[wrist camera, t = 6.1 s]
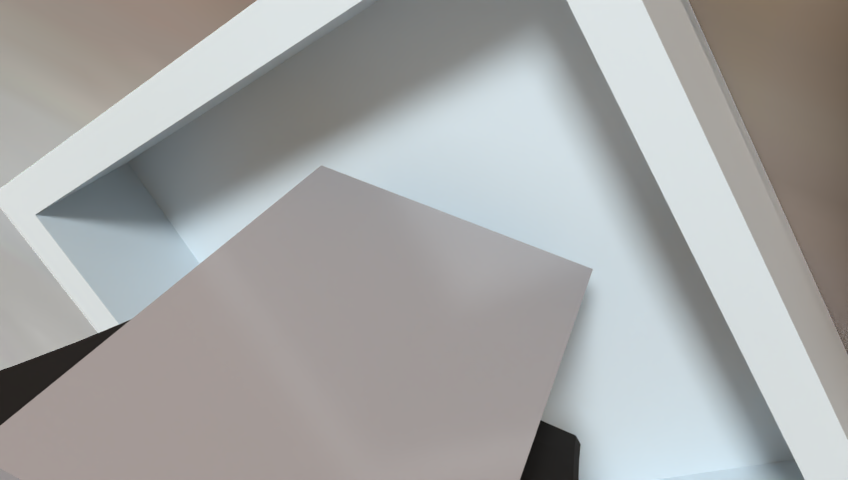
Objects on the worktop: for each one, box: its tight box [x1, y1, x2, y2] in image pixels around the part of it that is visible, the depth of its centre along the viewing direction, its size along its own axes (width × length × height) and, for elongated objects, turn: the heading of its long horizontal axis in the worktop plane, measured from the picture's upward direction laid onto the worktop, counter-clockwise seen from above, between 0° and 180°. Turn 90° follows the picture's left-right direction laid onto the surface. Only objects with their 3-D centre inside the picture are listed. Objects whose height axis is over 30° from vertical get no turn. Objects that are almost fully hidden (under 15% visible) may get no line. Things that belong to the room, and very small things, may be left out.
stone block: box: [0, 165, 593, 480], centre depth 10 cm, size 4×4×6 cm
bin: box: [0, 0, 848, 480], centre depth 13 cm, size 11×11×3 cm
